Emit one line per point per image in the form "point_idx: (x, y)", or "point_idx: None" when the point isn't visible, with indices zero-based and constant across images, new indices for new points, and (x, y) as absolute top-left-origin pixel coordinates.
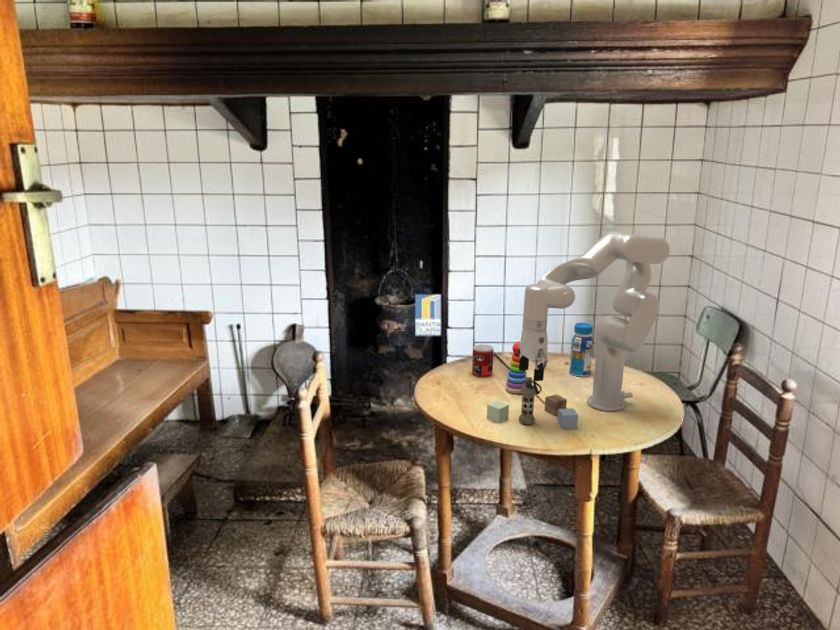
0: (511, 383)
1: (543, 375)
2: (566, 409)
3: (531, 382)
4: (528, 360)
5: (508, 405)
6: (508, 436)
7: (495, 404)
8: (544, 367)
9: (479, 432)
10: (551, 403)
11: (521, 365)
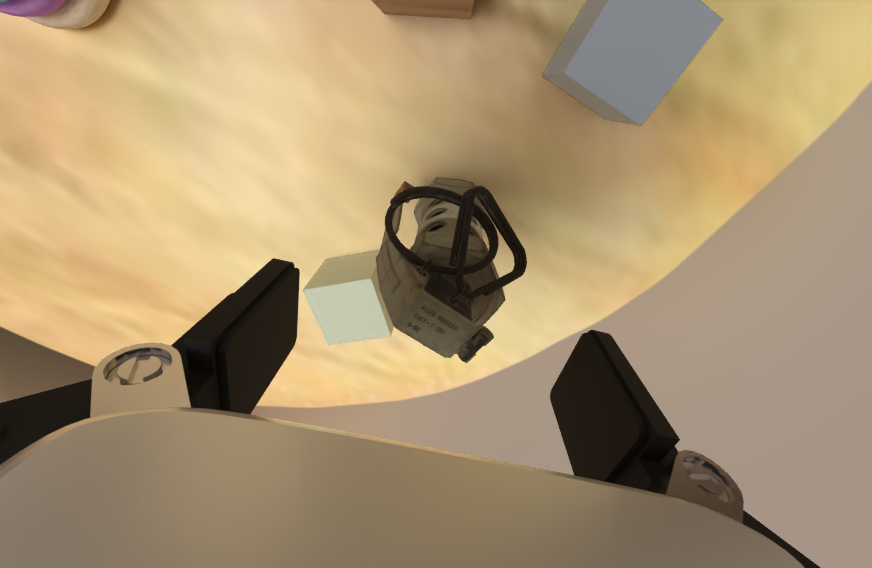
0: (26, 3)
1: (629, 365)
2: (607, 25)
3: (488, 336)
4: (237, 339)
5: (372, 281)
6: (501, 334)
7: (341, 321)
8: (759, 528)
9: (427, 380)
10: (435, 2)
11: (271, 372)
